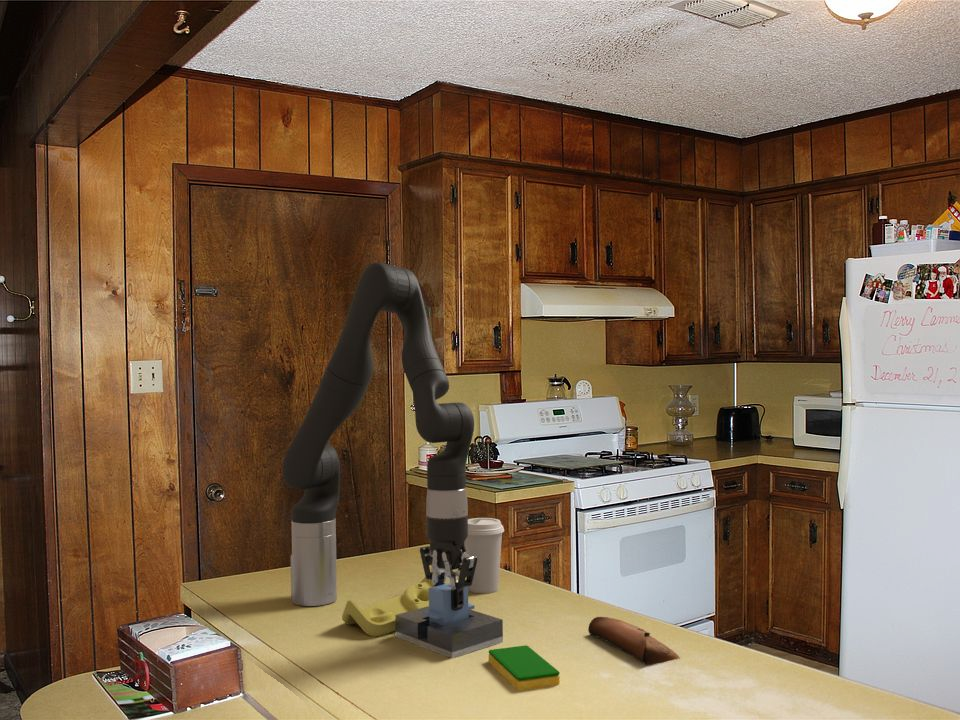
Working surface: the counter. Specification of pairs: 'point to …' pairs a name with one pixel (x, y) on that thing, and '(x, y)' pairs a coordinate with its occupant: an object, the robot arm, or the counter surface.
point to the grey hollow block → (450, 632)
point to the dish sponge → (524, 667)
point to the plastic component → (387, 609)
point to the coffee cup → (485, 552)
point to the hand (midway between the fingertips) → (448, 606)
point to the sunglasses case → (631, 640)
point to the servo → (445, 606)
